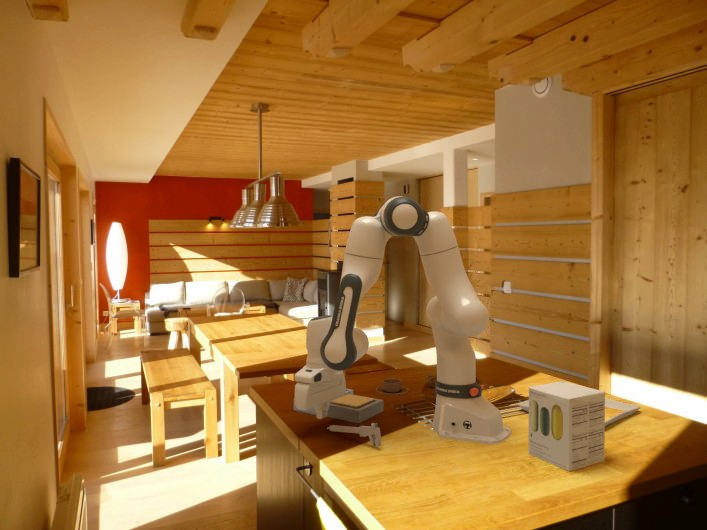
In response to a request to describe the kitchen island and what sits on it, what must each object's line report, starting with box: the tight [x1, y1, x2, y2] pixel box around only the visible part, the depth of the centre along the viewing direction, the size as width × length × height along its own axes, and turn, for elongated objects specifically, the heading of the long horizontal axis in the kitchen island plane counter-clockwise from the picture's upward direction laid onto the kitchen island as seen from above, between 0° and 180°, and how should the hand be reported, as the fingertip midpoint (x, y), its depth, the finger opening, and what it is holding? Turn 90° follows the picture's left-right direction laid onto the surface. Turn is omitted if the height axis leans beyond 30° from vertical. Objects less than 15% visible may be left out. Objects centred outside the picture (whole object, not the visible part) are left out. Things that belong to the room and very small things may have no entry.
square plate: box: [517, 397, 641, 427], centre depth 177 cm, size 27×27×4 cm
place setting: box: [375, 375, 435, 396], centre depth 203 cm, size 18×20×6 cm
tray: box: [293, 388, 354, 417], centre depth 188 cm, size 20×10×4 cm, turn 145°
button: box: [331, 394, 376, 409], centre depth 179 cm, size 10×10×4 cm
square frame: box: [322, 394, 385, 424], centre depth 179 cm, size 14×14×4 cm
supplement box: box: [527, 380, 606, 472], centre depth 142 cm, size 13×13×18 cm
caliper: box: [326, 422, 382, 448], centre depth 156 cm, size 20×1×6 cm, turn 44°
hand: (321, 417), depth 166 cm, fingers closed
